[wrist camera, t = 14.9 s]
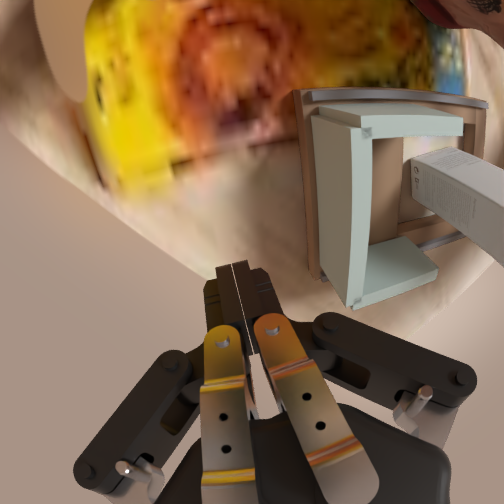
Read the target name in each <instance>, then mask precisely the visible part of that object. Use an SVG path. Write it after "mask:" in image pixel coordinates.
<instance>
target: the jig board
mask: <svg viewBox="0 0 504 504" xmlns="http://www.w3.org/2000/svg"><path fill="white" fill-rule="evenodd" d="M293 97H294V104H295V112H296V120H297V128H298V137H299V146H300V155H301V165H302V176H303V187H304V200H305V213H306V228H307V245H308V266H309V271H310V273H311V275H312V277H313V278H314V280H318V279H321V280H322V282H326V281H329V279H328V277H327V276H326V274H325V272H324V271H323V269H322V268H321V266H320V252H319V220H318V199H317V182H316V168H315V155H314V143H313V133H312V123H311V116H313V115H319V106H323V105H337V104H361V103H398V104H416V105H420V106H424V107H428V108H432V109H436V110H439V111H443V112H446V113H450V114H453V115H456V116H459V117H462V118H463V123H465V130H464V146H463V151H464V152H466V153H469V154H471V155H473V156H476V157H478V158H480V159H482V160H483V154H484V143H485V129H486V109H488V103H486V101H483V100H480V99H476V98H471V97H466V96H461V95H455V94H449V93H442V92H435V91H426V90H417V89H405V88H390V87H324V88H308V89H296V90H293ZM402 167H403V137H394V138H379V139H372V196H371V215H370V230H369V242H368V246H370V245H374V244H377V243H381V242H385V241H388V240H392V239H395V238H399V237H403V236H406V237H407V238H408V239H410V240H411V241H412V242H413V243H414V244H415V245H416V246H417V247H418V248H419V249H420V250H421V251H422V252H423V251H426V250H429V249H432V248H435V247H438V246H441V245H444V244H447V243H450V242H452V241H455V240H458V239H461V238H463V237H466V236H465V235H464V234H463V233H462V232H460V231H459V230H458V229H456V228H455V227H453V226H452V225H451V224H449V223H448V222H447V221H445V220H444V219H442V218H441V217H440V216H438V215H437V214H436V215H432V216H428V217H424V218H420V219H416V220H412V221H408V222H404V223H400V224H398V215H399V206H400V196H401V183H402Z"/></svg>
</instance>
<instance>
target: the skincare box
mask: <svg viewBox="0 0 504 504" xmlns="http://www.w3.org/2000/svg"><path fill="white" fill-rule="evenodd" d="M411 189H412V197H413V199H414V200H416V201H417V202H419V203H420V204H422V205H423V206H425V207H426V208H428V209H429V210H431V211H432V212H434V213H435V214H437V215H438V216H440V217H441V218H442V219H444V220H445V221H447V222H448V223H449V224H451V225H452V226H453V227H455V228H456V229H458V230H459V231H460V232H462V233H463V234H464V235H465V236H467V237H468V238H469V239H471V240H472V241H473V242H474V243H476V244H477V245H478V246H479V247H481V248H482V249H483V250H484V251H486V252H487V253H488V254H489V255H490V256H492V257H493V258H494V259H495V260H496V261H497V262H498V263H500V264H501V265H502V266H503V267H504V170H503V169H501V168H499V167H497V166H495V165H493V164H491V163H489V162H487V161H485V160H482V159H480V158H478V157H476V156H473V155H471V154H469V153H466V152H464V151H461V150H459V149H457V148H454V147H447V148H444V149H441V150H437V151H434V152H430V153H427V154H424V155H420V156H417V157H414V158H411Z"/></svg>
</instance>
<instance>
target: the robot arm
mask: <svg viewBox="0 0 504 504" xmlns="http://www.w3.org/2000/svg"><path fill="white" fill-rule="evenodd" d="M232 266H233V270H234V275H235V279H236V283H237V287H238V291H239V295H238V291H237V287H236V283H235V279H234V275H233V271H232V267H231V264H228V265H224V266H220V267H216V268H215V269H216V275H217V279H212V280H208V281H207V282H206V284H205V286H204V289H203V292H204V302H205V313H206V322H207V334H206V336H205V338H204V342H203V343H202V344H201V345H200V346H199V347H197V348H196V349H194V350H192V351H190V352H188V353H186V354H185V353H183V352H182V351H179V350H169V351H167V352H164V353H163V354H161V355H160V356H159V357H158V358H157V360H156V361H155V362H154V363H153V365H152V366H151V367H150V368H149V369H148V371H147V372H146V373H145V374H144V376H143V377H142V378H141V379H140V381H139V382H138V383H137V384H136V386H135V387H134V388H133V389H132V391H131V392H130V393H129V394H128V396H127V397H126V398H125V400H124V401H123V402H122V403H121V404H120V406H119V407H118V408H117V410H116V411H115V412H114V413H113V415H112V416H111V417H110V418H109V420H108V421H107V422H106V423H105V425H104V426H103V427H102V428H101V430H100V431H99V432H98V434H97V435H96V436H95V437H94V439H93V440H92V441H91V443H90V444H89V445H88V446H87V448H86V449H85V450H84V451H83V453H82V454H81V455H80V456H79V458H78V459H77V460H76V462H75V464H74V468H73V473H74V477H75V479H76V481H77V483H78V484H79V485H80V486H82V487H83V488H86V489H89V490H92V491H95V492H97V493H99V494H102V495H104V496H105V497H106V498H107V499H108V500H109V501H110V502H112V503H113V504H450V497H449V490H450V489H449V488H450V480H451V464H450V461H449V459H448V457H447V455H446V454H445V452H444V451H443V450H442V449H443V447H444V445H445V442H446V440H447V438H448V435H449V433H450V430H451V427H452V425H453V422H454V419H455V416H456V414H457V411H458V408H459V406H460V405H461V404H462V403H463V401H464V400H466V399H467V397H468V396H469V395H470V394H471V393H472V392H473V391H474V390H475V388H476V385H477V376H476V373H475V371H474V370H473V369H472V368H471V367H470V366H469V365H467V364H465V363H462V362H460V361H457V360H454V359H451V358H449V357H446V356H444V355H441V354H438V353H436V352H433V351H431V350H428V349H425V348H423V347H420V346H418V345H415V344H413V343H410V342H408V341H405V340H403V339H400V338H398V337H395V336H393V335H390V334H388V333H385V332H383V331H380V330H378V329H375V328H373V327H370V326H368V325H365V324H363V323H361V322H358V321H356V320H353V319H351V318H348V317H346V316H344V315H341V314H339V313H335V312H326V313H323V314H321V315H319V316H317V317H316V318H315V320H314V321H313V322H296V321H293V320H291V319H289V318H287V317H286V316H285V314H284V313H283V311H282V308H281V306H280V303H279V301H278V298H277V296H276V293H275V290H274V288H273V285H272V283H271V280H270V278H269V275H268V273H267V272H265V271H264V270H263V269H262V268H257V269H253V270H250V268H249V264H248V261H247V260H244V261H240V262H236V263H232ZM239 296H240V299H239ZM240 300H241V303H240ZM241 304H242V307H241ZM242 308H243V311H244V315H243V311H242ZM244 316H245V319H244ZM245 320H246V324H247V327H248V331H249V335H250V339H251V342H252V346H253V350H254V353H255V354H258V353H259V354H260V357H261V361H262V365H263V369H264V372H265V374H266V377H267V380H268V382H269V385H270V388H271V390H272V393H273V395H274V398H275V400H276V403H277V406H278V409H279V412H280V414H278V415H276V416H274V417H272V418H270V419H259V416H258V412H257V407H256V400H255V394H254V387H253V380H252V374H251V364H250V360H249V356H250V355H253V352H252V348H251V344H250V340H249V336H248V332H247V328H246V324H245ZM324 378H325V379H327V380H329V381H331V382H333V383H335V384H337V385H339V386H341V387H343V388H345V389H347V390H349V391H351V392H353V393H355V394H358V395H360V396H362V397H364V398H366V399H368V400H371V401H373V402H375V403H377V404H379V405H382V406H384V407H386V408H388V409H391V410H393V418H394V421H395V422H396V424H397V425H398V426H400V427H401V428H403V429H404V430H405V431H406V432H407V433H406V432H404V431H401V430H399V429H397V428H395V427H393V426H391V425H389V424H386V423H384V422H382V421H380V420H378V419H376V418H374V417H372V416H370V415H368V414H366V413H364V412H363V411H361V410H359V409H357V408H354V407H352V406H349V405H346V404H341V403H336V401H335V399H334V397H333V395H332V393H331V391H330V389H329V387H328V386H327V383H326V382H325V380H324ZM199 414H200V420H201V438H199V439H198V440H197V441H196V442H195V443H194V444H193V445H192V446H191V447H190V449H189V450H188V452H187V453H186V455H185V456H184V458H183V460H182V461H181V463H180V464H179V466H178V467H177V469H176V470H175V472H174V474H173V475H172V477H171V478H170V480H169V481H168V483H167V484H166V486H165V487H164V489H163V490H162V492H161V489H162V487H163V485H164V480H165V477H164V474H163V472H162V470H161V468H162V467H163V465H164V464H165V462H166V461H167V460H168V458H169V457H170V456H171V454H172V453H173V451H174V450H175V448H176V447H177V446H178V444H179V443H180V441H181V440H182V438H183V437H184V436H185V434H186V433H187V431H188V430H189V428H190V427H191V425H192V424H193V422H194V421H195V420H196V418H197V417H198V415H199Z"/></svg>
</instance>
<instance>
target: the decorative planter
mask: <svg viewBox="0 0 504 504" xmlns="http://www.w3.org/2000/svg"><path fill="white" fill-rule="evenodd" d="M410 1H411V2H412V3H413V4H414V5H415V6H416V7H417V8H418V9H419V10H420V11H421V12H422V14H423V15H424V16H425V17H426V18H427V19H428V20H429V21H431V22H432V23H434V24H436V25H439V26H441V27H444V28H449V29H463V28H472V29H477V30H480V31H482V32H484V33H485V34H487V35H488V36H490V37H491V38H492V39H493V40H494V41H495V42H497V43H498V44H499V45H500V46H501V47H502V48H503V49H504V0H410Z"/></svg>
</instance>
